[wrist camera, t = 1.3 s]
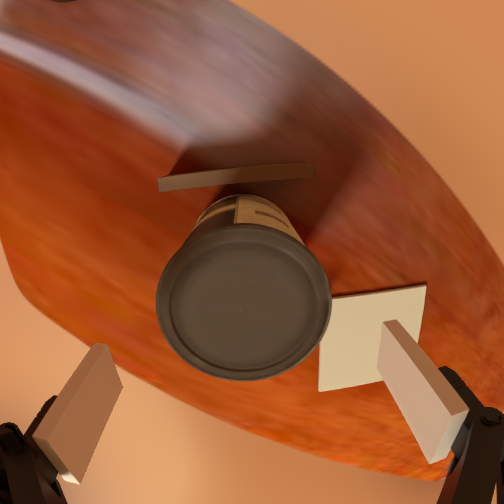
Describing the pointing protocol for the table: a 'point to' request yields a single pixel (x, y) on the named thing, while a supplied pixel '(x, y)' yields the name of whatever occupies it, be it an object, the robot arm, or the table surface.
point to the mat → (364, 334)
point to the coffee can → (243, 293)
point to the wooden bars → (236, 175)
